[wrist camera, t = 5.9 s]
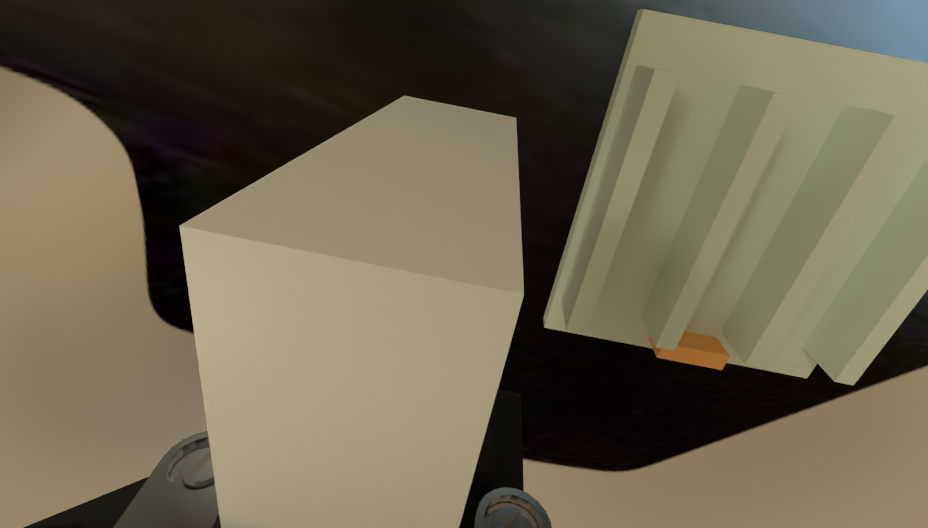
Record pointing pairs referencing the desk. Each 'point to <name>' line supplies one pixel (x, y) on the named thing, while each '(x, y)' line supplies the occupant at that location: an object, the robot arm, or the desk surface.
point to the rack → (751, 202)
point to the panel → (359, 321)
